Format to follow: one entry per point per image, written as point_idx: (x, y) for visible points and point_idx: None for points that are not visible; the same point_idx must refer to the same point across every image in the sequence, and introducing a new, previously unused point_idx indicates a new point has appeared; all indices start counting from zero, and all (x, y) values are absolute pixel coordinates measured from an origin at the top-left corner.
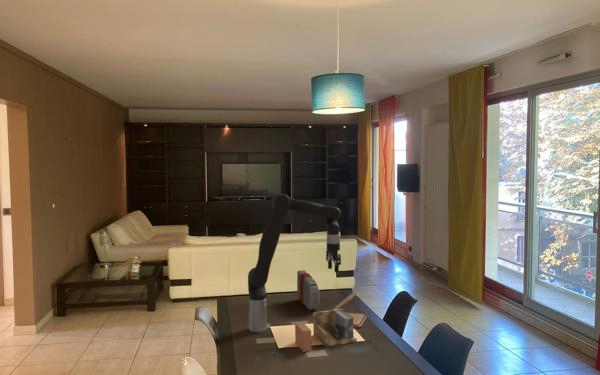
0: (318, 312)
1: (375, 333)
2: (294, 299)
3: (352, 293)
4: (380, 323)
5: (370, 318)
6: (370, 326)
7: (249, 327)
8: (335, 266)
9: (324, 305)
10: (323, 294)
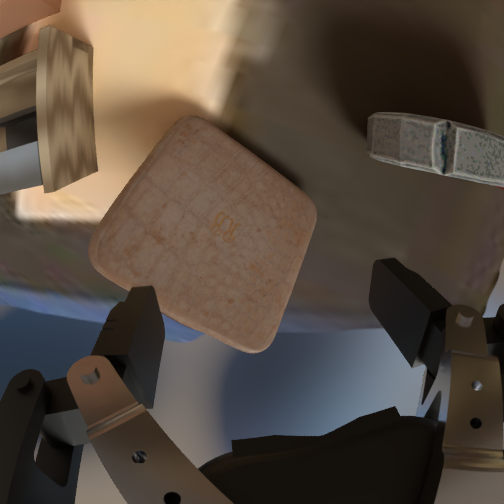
0: (38, 49)
1: (62, 272)
2: None
3: (228, 319)
4: None
5: None
6: None
7: None
8: (111, 350)
9: (409, 206)
10: (485, 248)
